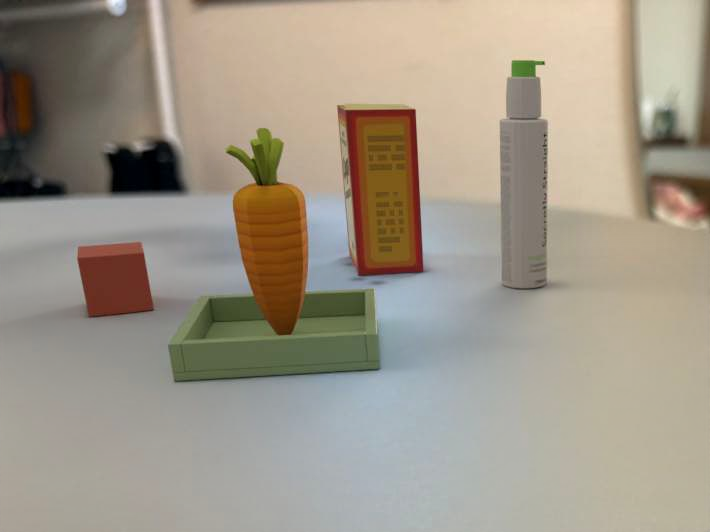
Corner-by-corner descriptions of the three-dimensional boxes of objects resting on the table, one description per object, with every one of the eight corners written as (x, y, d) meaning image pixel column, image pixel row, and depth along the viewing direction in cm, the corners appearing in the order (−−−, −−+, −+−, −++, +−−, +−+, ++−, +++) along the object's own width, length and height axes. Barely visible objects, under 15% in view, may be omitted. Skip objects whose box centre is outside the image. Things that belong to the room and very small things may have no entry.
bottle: (525, 291, 79) (524, 60, 72) (492, 283, 82) (488, 60, 75) (556, 283, 82) (558, 60, 75) (523, 275, 85) (522, 60, 78)
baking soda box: (349, 255, 93) (336, 101, 87) (408, 252, 95) (400, 100, 89) (358, 275, 85) (345, 106, 79) (423, 271, 87) (415, 105, 81)
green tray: (173, 381, 57) (167, 344, 56) (205, 327, 68) (200, 295, 67) (379, 369, 59) (377, 333, 58) (376, 318, 71) (374, 288, 70)
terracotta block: (88, 317, 71) (76, 257, 69) (89, 302, 75) (77, 246, 73) (153, 310, 73) (143, 252, 71) (150, 296, 77) (141, 241, 75)
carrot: (293, 352, 61) (268, 132, 55) (236, 344, 62) (206, 130, 57) (332, 333, 65) (313, 127, 59) (277, 326, 67) (254, 125, 61)
